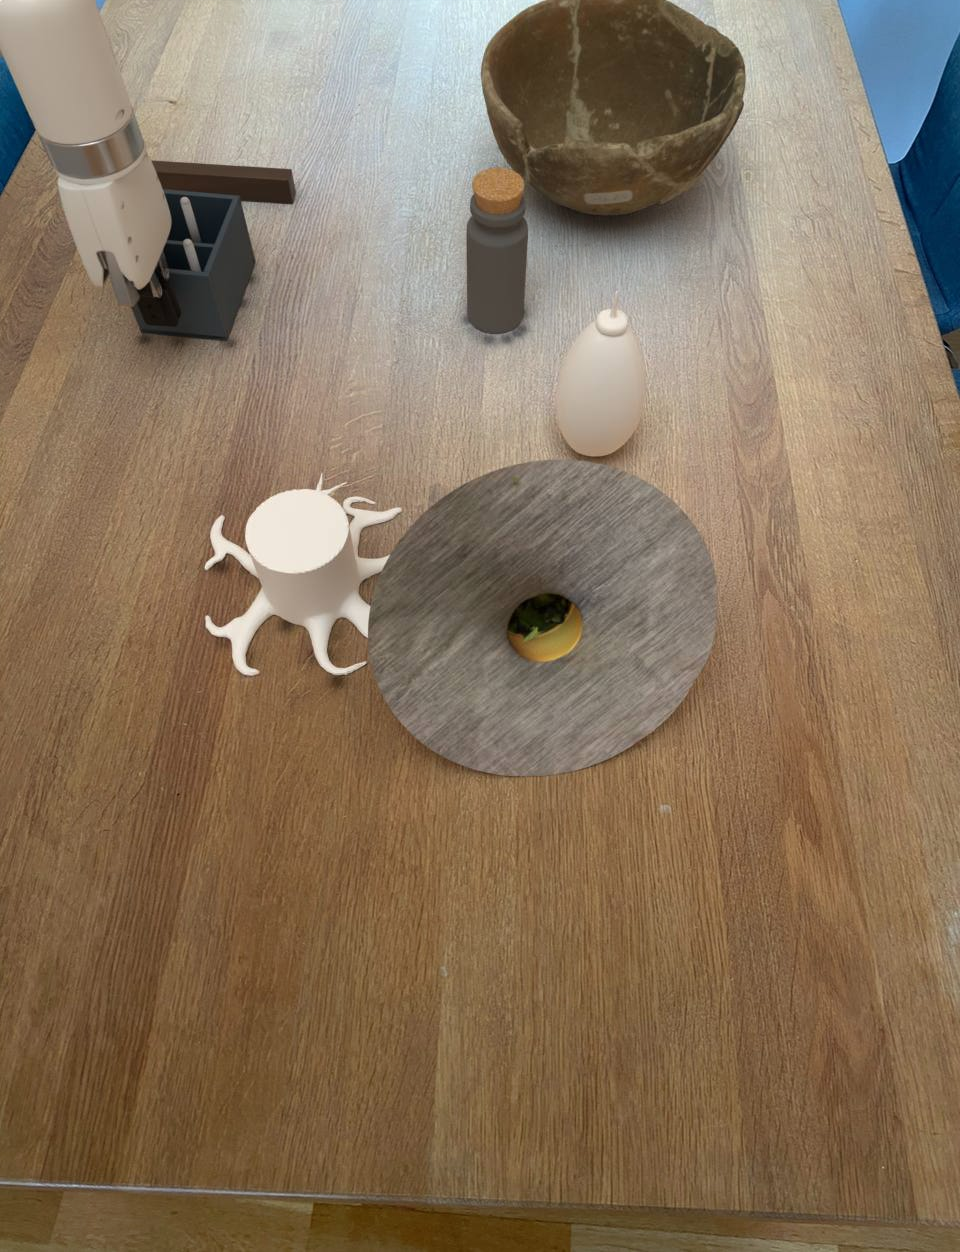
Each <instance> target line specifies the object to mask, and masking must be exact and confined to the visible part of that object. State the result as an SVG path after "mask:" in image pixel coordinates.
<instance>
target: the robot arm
mask: <svg viewBox="0 0 960 1252" xmlns="http://www.w3.org/2000/svg"><path fill="white" fill-rule="evenodd" d="M108 35H109V34H108V31H107V30H106V27H105V23H104V21H103V17H102V15H101V12H100V10H99V6H98V3H97V0H0V58H1V57H3V59H4V62H5V64H6V66H7V68H8V70H9V72H10V75H11V77H12V80H13V82H14V84H15V86H16V89H17V91H18V94H19V95H20V98H21V100H22V102H23V104H24V106H25V107H24V108H25V109H26V111H27V112H28V115H29V118H30V120H31V122H32V124H33V126H34V129H35V131H36V133H37V135H38V138H39V141H40V142H41V144H42V146H43V149H44V151H45V153H46V156H47V158H48V160H49V163H50V165H51V168H52V169H53V171H54V173H55V174H56V175H57V176H58V178H57V182H56V184H57V187H58V193H59V197H60V201H61V205H62V209H63V212H64V215H65V218H66V221H67V225H68V227H69V230H70V233H71V236H72V239H73V241H74V244H75V248H76V249H77V251H78V254H79V257H80V259H81V262H82V264H83V267H84V269H85V272H86V274H87V276H88V278H89V280H90V282H91V284H92V285H93V286H94V287H95V288H104V287H105V285H106V283H107V281H108V278H109V277H110V278H109V279H110V281H111V284H112V288H113V292H114V295H115V299H116V302H117V305H118V306H119V307H130V308H131V307H134V306H135V305H136V303H137V305H138V307H139V310H140V312H141V314H142V317H143V319H144V322H145V323H146V324H147V325H153V326H170V327H176V326H177V324H178V322H179V320H178V319H179V318H180V317H181V314H182V313H181V310H180V307H179V305H178V302H177V299H176V297H175V294H174V291H173V288H172V286H171V283H170V282H166V281H165V280H168V279H169V269H168V266H167V262H166V259H165V255H164V252H163V251H164V249H163V248H164V246H165V243H166V241H167V238H168V236H169V233H170V229H171V222H172V220H171V214H170V210H169V207H168V204H167V200H166V197H165V194H164V192H163V189H162V186H161V183H160V181H159V178H158V176H157V173H156V171H155V168H154V166H153V164H152V161H151V160H152V159H151V156H150V155H149V152H148V150H147V146H146V145H147V144H146V143H145V140H144V137H143V134H142V132H141V128H140V126H139V121H138V119H137V116H136V114H135V111H134V108H133V105H132V102H131V100H130V96H129V94H128V90H127V87H126V85H125V82H124V79H123V76H122V73H121V71H120V67H119V65H118V61H117V59H116V58H117V57H116V56H115V53H114V50H113V47H112V44H111V41H110V38H109V36H108Z"/></svg>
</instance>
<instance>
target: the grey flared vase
mask: <svg viewBox="0 0 960 1252" xmlns="http://www.w3.org/2000/svg"><path fill="white" fill-rule="evenodd" d="M389 555H390V556H389V558H388V560H387V561H386V563H385V565H384V567H383V569H382V572H380V573H379V576H378V579H377V581H376V584H375V587H374V591H373V594H372V598H371V602H370V612H369V620H368V638H367V644H368V654H369V660H370V664H371V668H372V672H373V675H374V679H375V681H376V684H377V686H378V689H379V691H380V693H381V695H382V697H383V699H384V701H385V702H386V704H387V706H388V707H389V709H390V710H391V712H392V714H393V715H394V716H395V717H396V719H397V720H398V721H399V722H400V724H401V725H402V726H403V727H404V728H405V729H406V730H407V731H408V732H409V734H411V735H412V736H413V737H414V738H415V739H416V740H418V741H419V743H421V744H423V746H425V747H426V748H428V749H429V750H431V751H433V752H434V753H435V754H437V755H439V756H441V757H443V758H445V759H447V760H449V761H450V762H453V763H456V764H458V765H460V766H463V767H467V768H469V769H471V770H475V771H479V772H483V773H487V774H492V775H497V776H506V777H507V776H510V777H546V776H554V775H560V774H565V773H570V772H571V773H572V772H573V771H574V772H575V771H578V770H582V769H586V768H589V767H591V766H594V765H598V764H600V763H602V762H605V761H607V760H609V759H611V758H614V757H616V756H617V755H619V754H621V753H622V752H624V751H625V750H628V749H629V748H631V747H632V746H634V745H635V744H636V743H638V742H640V741H641V740H642V739H644V738H646V737H647V736H649V735H650V734H652V733H653V732H655V730H657V728H658V727H660V726H661V725H662V724H663V723H664V722H665V721H667V719H668V718H669V717H670V716H671V715H672V714H673V713H674V712H675V710H676V709H678V707H679V706H680V705H681V703H682V702H683V701H684V699H685V698H686V697H687V696H688V694H689V691H690V690H691V688H692V686H693V684H694V683H695V681H696V679H697V678H698V676H699V675H700V674H701V672H702V670H703V668H704V666H705V665H706V663H707V661H708V658H709V657H710V653H711V650H712V647H713V643H714V639H715V634H716V629H717V618H718V607H719V591H718V589H719V588H718V581H717V576H716V569H715V566H714V562H713V559H712V557H711V554H710V551H709V549H708V547H707V544H706V542H705V540H704V539H703V537H702V535H701V533H700V532H699V530H698V528H697V527H696V525H695V524H694V523H693V521H692V520H691V519H690V517H689V516H688V515H687V514H686V512H685V511H684V510H683V509H682V508H681V507H680V506H679V505H678V504H677V503H676V502H675V501H674V500H673V499H672V498H670V497H669V496H668V495H667V494H666V493H664V492H663V491H662V490H660V489H659V488H658V487H656V486H654V485H653V484H652V483H650V482H648V481H647V480H644V479H642V478H640V477H639V476H637V475H635V474H633V473H630V472H628V471H625V470H623V469H620V468H617V467H613V466H610V465H606V464H603V463H598V462H593V461H587V460H579V459H577V460H576V459H541V460H533V461H527V462H522V463H517V464H513V465H509V466H505V467H502V468H497V469H496V470H493V471H490V472H488V473H485V474H482V475H480V476H477V477H475V478H473V479H472V480H469V481H467V482H465V483H463V484H462V485H460V486H458V487H456V488H455V489H453V490H452V491H450V492H449V493H447V494H446V495H444V496H443V497H442V498H440V499H439V500H438V501H436V502H435V503H433V505H431V506H430V507H429V508H428V509H426V511H424V512H423V513H422V514H421V515H420V516H419V517H418V518H417V519H416V520H415V521H414V522H413V523H412V524H411V525H410V527H409V528H408V529H407V530H406V531H405V533H404V534H403V535H402V536H401V538H399V540H398V542H397V543H396V544H395V546H394V548H393V550H392V551H391V552H390V554H389Z"/></svg>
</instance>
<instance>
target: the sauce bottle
mask: <svg viewBox="0 0 960 1252" xmlns="http://www.w3.org/2000/svg"><path fill="white" fill-rule="evenodd" d="M618 306H619V291H618V290H616V291H615V293H614V295H613V299H612V303H611V308H606V309H603V310H601V311H599V312H598V314H597V316H596V317H595V320H593V321H592V322H590V324H588V325H587V326H585V328H584V329H583V330H582V331H581V332H580V333H579V334H578V336H577V337H576V338H575V340H574V341H573V343H572V344H571V346H570V348H569V349H568V351H567V354H566V356H565V358H564V360H563V362H562V365H561V367H560V370H559V374H558V377H557V383H556V387H555V394H554V395H555V396H554V397H555V398H554V405H555V408H554V409H555V418H556V420H557V421H556V422H557V425H558V428H559V431H560V433H561V435H562V437H563V439H564V440H565V442H566V443H567V444H568V446H569V447H570V448H571V449H572V450H573V451H574V452H576V453H578V454H580V455H582V456H587V457H604V456H607V455H610V454H612V453H614V452H616V451H618V450H619V449H620V448H621V447H623V446H624V445H625V444H626V443H627V442H628V441H629V440H630V438H631V437H632V435H634V432H635V431H636V429H637V427H638V425H639V423H640V420H641V418H642V415H643V411H644V407H645V400H646V395H647V394H646V393H647V378H646V377H647V375H646V366H645V361H644V356H643V352H642V349H641V346H640V343H639V341H638V338H637V336H636V334H635V332H634V331H633V329H632V327H631V326H630V325H629V318H628V316H627V314H626V313H625V312H624V311H622V310H620V309H618Z"/></svg>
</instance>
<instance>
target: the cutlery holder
mask: <svg viewBox="0 0 960 1252" xmlns="http://www.w3.org/2000/svg"><path fill="white" fill-rule="evenodd" d="M163 192H164V194H165V197H166V200H167V204H168V207H169V210H170V214H171V220H172V222H171V229H170V233H169V236H168V238H167V241H166V243H165V246H164V248H163V249H164V251H163V252H164V255H165V259H166V262H167V266H168V269H169V279H168V280H165V281H166V282H170V283H171V286H172V288H173V291H174V294H175V297H176V299H177V302H178V305H179V307H180V310H181V313H182V314H181V317H180V318H179V319H178V320H179V322H178V324H177V326H176V327H170V326H153V325H147V324H146V323H145V322H144V319H143V317H142V314H141V312H140V310H139V307H138V305H137V303H136V305H135V306H134V307H130V309H131V311H132V313H133V316H134V318H135V321H136V323H137V325H138V328H139V332H140V333H141V334H148V335H149V334H151V335H161V336H169V337H170V336H171V337H182V338H183V337H184V338H190V339H191V338H193V339H201V340H204V339H205V340H214V341H223V342H227V341H228V340H229V338H230V334H231V331H232V328H233V325H234V323H235V321H236V317H237V315H238V312H239V309H240V307H241V304H242V301H243V298H244V296H245V293H246V290H247V287H248V284H249V282H250V279H251V277H252V274H253V271H254V268H255V265H256V261H257V260H256V258H255V253H254V249H253V246H252V241H251V237H250V234H249V233H250V232H249V229H248V225H247V220H246V217H245V212H244V208H243V204H242V201H241V199H240V196H235V195H224V194H212V193H201V192H189V191H177V190H166V189H163Z"/></svg>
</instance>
